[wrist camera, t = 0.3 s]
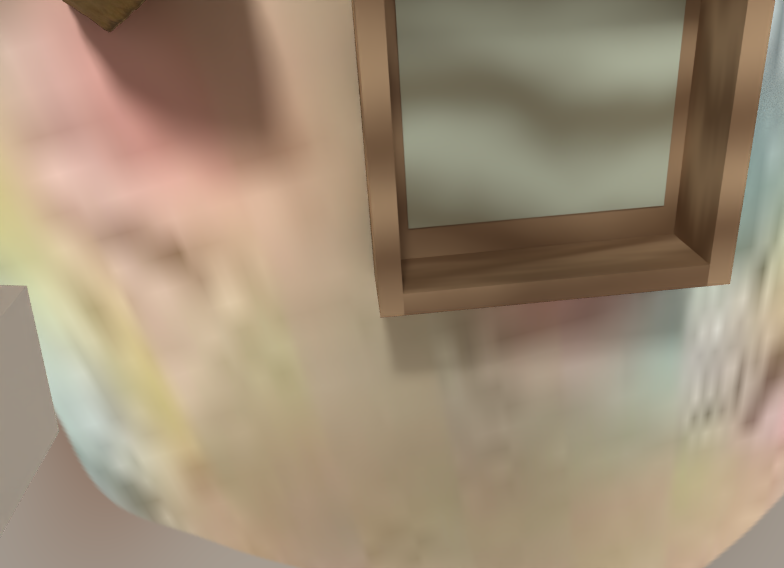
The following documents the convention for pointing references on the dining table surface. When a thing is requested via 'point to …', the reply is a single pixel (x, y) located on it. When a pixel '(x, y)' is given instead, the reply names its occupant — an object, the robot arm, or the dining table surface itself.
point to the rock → (106, 10)
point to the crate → (554, 145)
